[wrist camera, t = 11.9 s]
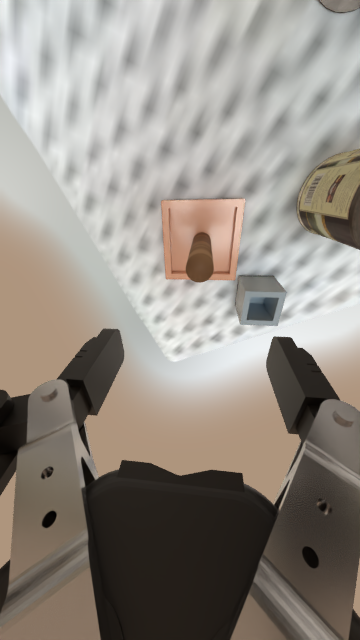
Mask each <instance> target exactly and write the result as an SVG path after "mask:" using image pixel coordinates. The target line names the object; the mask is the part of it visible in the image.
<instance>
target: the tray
mask: <svg viewBox="0 0 360 640" xmlns="http://www.w3.org/2000/svg"><path fill="white" fill-rule="evenodd" d="M161 206H162V223H163V239H164V256H165V273H166V279H190V278H189V277H188V276H187V273H186V264H187V260H188V256H189V252H190V249H191V245H192V241H193V238H194V236H195V235H196V234H198V233H200V232H204V233H206V234H208V235H209V237H210V239H211V247H212V256H213V265H214V271H213V274H212V276H211V277H210V278H209V279H208V280H235V277H236V269H237V261H238V253H239V245H240V237H241V230H242V222H243V214H244V206H245V199H243V198H242V199H195V200H162V201H161Z"/></svg>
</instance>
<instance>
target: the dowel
mask: <svg viewBox="0 0 360 640" xmlns="http://www.w3.org/2000/svg"><path fill="white" fill-rule="evenodd" d="M213 271H214V265H213V256H212V247H211V239H210V237H209V235H208V234H206V233H204V232H200V233H198V234H196V235H195V236H194V238H193V241H192V245H191V249H190V252H189V256H188V260H187V264H186V273H187V276H188V277H189V278H190V279H191V280H192V281H195V282H205V281H207V280H208V279H209V278H210V277H211V276H212V274H213Z"/></svg>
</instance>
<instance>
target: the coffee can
mask: <svg viewBox="0 0 360 640" xmlns="http://www.w3.org/2000/svg"><path fill="white" fill-rule="evenodd" d="M297 214H298V218H299V221H300V223H301V224H302V226H303V227H304V228H305V229H306V230H307V231H309V232H311V233H314V234H318V235H321V236H323V237H327V238H330V239H332V240H335V241H338V242H341V243H343V244H346V245H348V246H351V247H354V248H356V249H359V250H360V149H357V150H353V151H350V152H344V153H340V154H336V155H334V156H332V157H330V158H328V159H327V160H325V161H324V162H322V163H321V164H320V165H319V166H317V167H316V168H315V169H314V170H313V171H312V173H311V174H310V175H309V176H308V177H307V179H306V181H305V182H304V184H303V186H302V188H301V191H300V193H299V196H298V201H297Z"/></svg>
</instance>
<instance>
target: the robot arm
mask: <svg viewBox="0 0 360 640" xmlns="http://www.w3.org/2000/svg"><path fill="white" fill-rule="evenodd" d="M320 2H321V3H322V4H323V5H324V6H325V7H326V8H328V9H330V10H333V11H335V12H348V11H352V10H356V9H357V8H359V7H360V0H320ZM123 360H124V349H123V344H122V339H121V335H120V331H119V330H118V329H103V330H102V331H101V332H100V334H99V335H98V336H97V337H93V338H92V339H91V340H89V341H88V342H86V343H85V344H84V345H83V347H82V348H81V349H80V352H78V353H77V354H76V355H75V358H73V359H72V361H71V362H70V363H69V364H68V366H67V367H66V368H65V369H64V371H63V372H62V373H61V374H60V376H59V377H58V378H57V379H56V380H51V381H48V382H46V383H44V384H42V385H40V386H38V387H37V388H36V389H35V390H34V391H33V392H32V393H31V394H28V395H23V396H18V397H13V398H10V396H9V395H8V393H7V392H6V391H4V390H0V495H1V494H2V492H3V491H4V489H5V487H6V486H7V484H8V483H9V481H10V479H11V478H12V476H13V475H14V473H15V471H16V484H15V499H14V514H13V529H12V544H11V558H10V560H9V561H8V562H7V563H6V564H5V565H4V566H3V567H2V568H1V569H0V640H360V617H359V616H358V615H357V613H356V612H355V611H354V609H353V603H354V595H355V588H356V580H357V572H358V565H359V558H360V411H358V410H357V409H356V408H355V407H353V406H351V405H350V404H348V403H346V402H343V401H340V399H339V397H338V396H337V394H336V393H335V391H334V390H333V388H332V386H331V385H330V383H329V382H328V380H327V379H326V377H325V376H324V374H323V373H322V371H321V369H320V368H319V366H317V363H316V362H315V360H314V359H313V357H312V355H310V354H309V353H308V352H307V351H305V350H304V349H303V348H297V346H296V344H295V343H294V341H293V339H292V338H290V337H273V339H272V342H271V346H270V349H269V353H268V357H267V362H266V367H267V372H268V375H269V378H270V381H271V384H272V387H273V390H274V393H275V396H276V398H277V402H278V404H279V407H280V410H281V413H282V416H283V419H284V422H285V425H286V428H287V431H288V433H290V434H299V437H300V439H301V442H300V444H299V446H298V448H297V451H296V453H295V455H294V458H293V460H292V462H291V465H290V467H289V470H288V472H287V474H286V476H285V479H284V481H283V483H282V485H281V487H280V490H279V492H278V493H277V496H276V498H275V500H274V502H273V504H272V503H271V502H270V501H269V500H268V499H267V498H266V497H265V496H264V495H262V494H261V493H259V492H258V491H257V490H255V489H254V488H252V487H250V486H249V485H246V484H244V483H243V475H242V473H235V472H226V471H217V470H208V471H203V472H198V473H193V474H188V475H182V476H179V475H175V474H173V473H171V472H169V471H167V470H165V469H162V468H160V467H158V466H156V465H153V464H151V463H144V462H135V461H126V460H122V462H121V465H120V468H119V470H115V471H112V472H109V473H107V474H105V475H103V476H101V477H99V476H98V473H97V470H96V467H95V464H94V461H93V456H92V451H91V447H90V443H89V439H88V433H87V430H86V424H85V422H84V421H85V419H86V417H87V415H97V414H98V412H99V410H100V408H101V406H102V404H103V402H104V400H105V398H106V396H107V393H108V392H109V389H110V387H111V385H112V383H113V381H114V379H115V377H116V375H117V373H118V371H119V369H120V367H121V364H122V363H123Z"/></svg>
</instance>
